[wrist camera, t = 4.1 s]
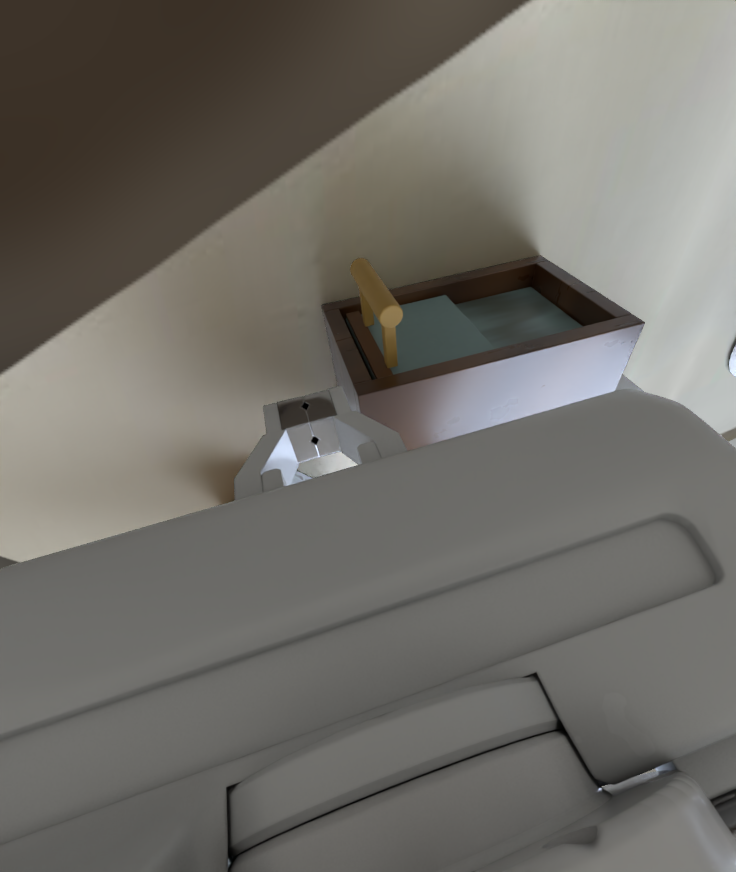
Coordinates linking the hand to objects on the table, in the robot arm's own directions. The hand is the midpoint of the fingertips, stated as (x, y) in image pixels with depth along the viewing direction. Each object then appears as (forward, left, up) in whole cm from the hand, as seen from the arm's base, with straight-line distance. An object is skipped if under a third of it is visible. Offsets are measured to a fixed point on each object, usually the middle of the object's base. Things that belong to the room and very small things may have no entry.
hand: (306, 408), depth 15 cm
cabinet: (-11, +8, -13) cm, 19 cm away
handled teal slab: (-7, +1, -12) cm, 14 cm away
